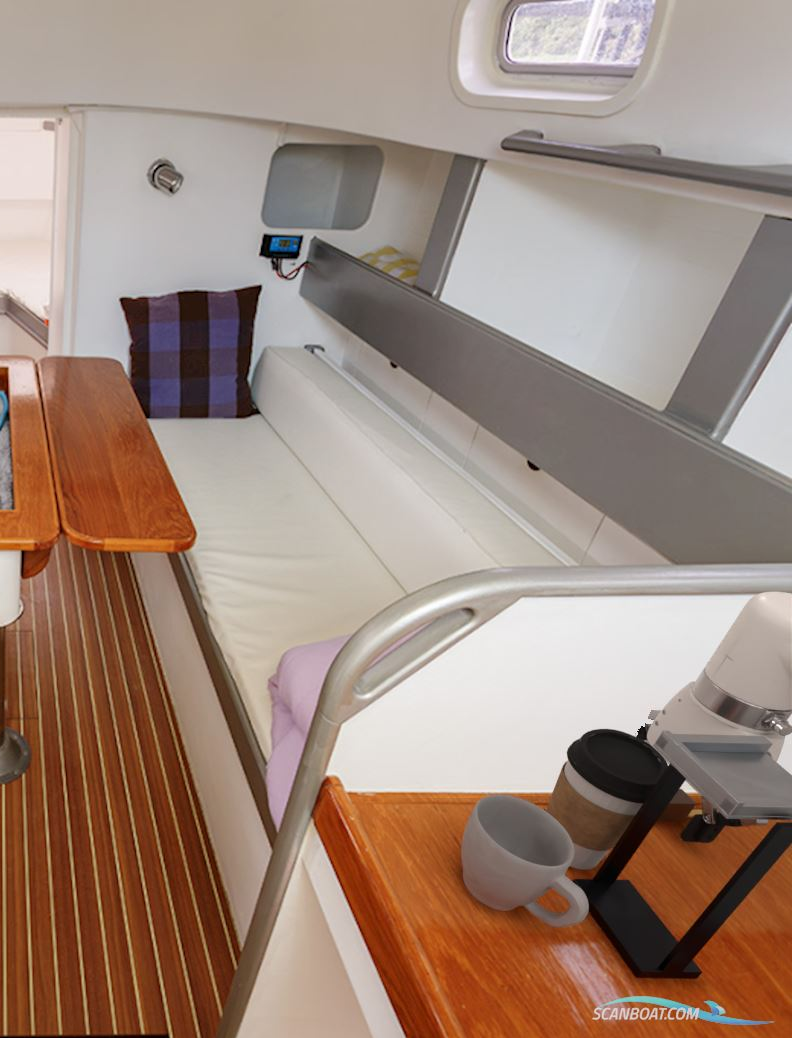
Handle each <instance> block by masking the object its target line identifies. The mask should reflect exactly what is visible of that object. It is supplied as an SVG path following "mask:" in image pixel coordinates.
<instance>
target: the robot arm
mask: <svg viewBox="0 0 792 1038" xmlns="http://www.w3.org/2000/svg"><path fill="white" fill-rule="evenodd" d="M791 716H792V593H790V592H784V591H763V592H760V593H758V594H755V595H754V596H752V597H751V598H750V599H749V600H748V601H747V602H746V604H745V605H744V606H743V608H742V609H741V610H740V613H739V614H738V616H737V617H736V619H735V620H734V622H733V623H732V625H731V626H730V628H729V629H728V631H727V633H726V634H725V635H724V637H723V638H722V640H721V642H720V643H719V645H718V646H717V647H716V649H715V651H714V652H713V653H712V655H711V657H710V658H709V660H708V662H707V663H706V664H705V666H704V668H703V669H702V671H701V672H700V674H699V675H698V677H697V678H696V680H695V681H690V682H689V683H687V684H686V685H685V686H684V687H683V688H681V689H680V690H679V691H678V692H677V693H675V695H673V696H672V697H671V699H670V700H669V701H668V702H667V703H666V704H665V705H664V707H663V708H661V709H659V710H651V712H650V714H649V716H648V719H651V720H654V721H653V723H652V724H646V723H645V727H643V726H641V728H640V729H638V730H639V731H637V732H638V735H637V736H636V735H635V737H637V738H639V739H641V740H643V741H645V742H647V743H649V744H650V745H651V746H652V747H654V746H653V745H654V743H655V742H656V740H657V739H658V737H659V736H660V734H661V733H662V731H663V730H664V731H670V732H671V733H672V734H701V735H746V736H764V737H765V738H767V739H768V740H769V741H770V742H771V743H772V746H771V747H770V748H769V750H768V751H767V752H766V754H767V755H769V756H770V757H771V758H772V759H773V760H774V761H776V762H777V763H778V760H779V759H780V755H781V753H782V750H783V747H784V744H785V740H786V736H788V735H791V734H792V725H791V724H790V723H789V721H788V720H789V718H790V717H791ZM654 748H655V747H654ZM655 749H656V748H655ZM656 750H657V749H656ZM657 751H658V750H657ZM658 752H659V751H658ZM659 753H660V752H659ZM660 754H661V753H660ZM661 755H662V754H661ZM662 756H663V755H662ZM663 758H664V759H665V760H666V762H667V764H668V765H669V764H670V762H669V761H668V760H667V759H666V758H665V757H664V756H663ZM685 782H686V783H687V784H688V785H689V786H690V787H691V788H692V789H693V790H694V791H695V792H697V794H698V795H700V799H701V810H702V814H696V815H694V816H693V818H690V820H689V822H688V823H687V824H686V826H685V827H684V829H683V830H682V831H681V832H680V833H679V838H680V839H681V840H682V842H684V843H701V844H710V843H713V842H714V841H715V840H716V839H717V837H718V836H719V835H720V833H721V832H722V831H723V829H724V828H725V827H731V828H750V827H759V826H760V827H761V826H762V827H763V826H767V825H768V824H769V820H765V819H726V818H725V817H724V816H723V815H722V814H721V813H720V812H719V811H718V810H717V809H716V808H715V807H714V806H713V805H712V804H711V803H710V802H709V801H708V800H707V799H706V798H705V797H704V796H703V795H702V794H701V793H700V792H699V791H698V790H697V789H696V788H695V787H694V786H693V785H692V784H691V783H690V782H689V781H688V780H687V779H686V780H685Z"/></svg>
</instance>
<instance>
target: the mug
mask: <svg viewBox="0 0 792 1038" xmlns="http://www.w3.org/2000/svg"><path fill="white" fill-rule="evenodd" d="M460 854H461V855H460V858H461V859H460V860H461V867H462V880H463V883H464V885H465V887H466V889H467V890H468V892H469V893H470V894H471V895H472V896H473V898H474V899H476V900H477V901H478V902H480V903H481V904H483V905H485V906H486V907H489V908H491V909H493V910H497V911H504V912H508V911H513V910H514V909H516V908H518V907H524V908H525V909H526V910H527V911H528V912H529V913H530V914H531V915H533V916H534V917H535V918H537V919H538V920H539V921H541V922H543V923H544V924H546V925H548V926H550V927H554V928H567V927H572V926H573V927H574V926H577V925H579V924H581V923H582V922H583V921H584V920H585V919H586V917H587V916H588V913H589V904H588V899H587V897H586V895H585V893H584V892H583V890H582V889H581V888H580V887H578V886H577V885H576V884H575V883H573V882H572V881H573V880H571V879H570V878H569V877H567V875H566V873H567V871H568V869H569V867H570V864H571V862H572V860H573V858H574V846H573V843H572V840H571V838H570V836H569V834H568V833H567V831H566V830H565V829H564V827H563V826H562V825H561V824H560V823H559V822H558V821H557V820H556V819H555V818H554V817H553V816H551V815H550V814H549V813H547V812H546V810H545V809H543V808H541V807H540V806H538V805H536V804H535V803H533V802H530V801H528V800H525V799H523V798H520V797H517V796H515V795H510V794H502V793H501V794H500V793H499V794H497V793H496V794H489V795H486V796H483V797H481V798H480V799H479V800H478V801H477V802H476V804H475V805H474V807H473V809H472V811H471V812H470V815H469V817H468V820H467V822H466V825H465V829H464V831H463V835H462V839H461V849H460ZM551 889H553V890H554V892H556V893H558V894H559V895H560V896H561V897H563V899H565V900H566V901H567V902H568V904H569V907H568V909H566V911H564V912H562V913H558V912H553V911H550V910H548V909H546V908H545V907H543V906H542V905H540V904H539V903H538V902H537V900H538V899H539V898H541V897H542V896H544V895H545V894H547V892H549V891H550V890H551Z"/></svg>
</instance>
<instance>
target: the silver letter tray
mask: <svg viewBox="0 0 792 1038" xmlns="http://www.w3.org/2000/svg"><path fill="white" fill-rule="evenodd" d="M653 746H654V747H655V748H656V749H657V750H658V751H659V752H660V753H661V754H662V755H663V756H664V757H665V758H666V759H667V760H668V761H669V762H670V763H671V764H672V765H673V766H674V767H675V768H676V769H677V770H678V771H679V772H680V773H681V774H682V775H683V776H684V777H685V778H686V779H687V780H688V781H689V782H690V783H691V784H692V785H693V786H694V787H695V788H696V789H697V790H698V791H699V792H700V793H701V794H702V795H703V796H704V797H705V798H706V799H707V800H708V801H709V802H710V803H711V804H712V805H713V806H714V807H715V808H716V809H717V812H720V813H721V814H722V815H723V816H724V817H725V818H726V819H765V820H768V821H769V820H770V821H771V820H773V821H792V774H791V773H790V772H789V771H788V770H786V769H785V768H784V767H783V766H782V765H780V764H779V763H778V761H777V762H776V761H774V760H773V759H772V758H771V757H770V756H769V755H767V754H766V752H767V751H768V750H769V748H770V747H771V746H772V743H771V742H770V741H769V740H768V739H767V738H765V737H764V736H746V735H701V734H672V733H671V732H670V731H664V730H663V731H662V733H661V734H660V736H659V737H658V739H657V740H656V742H655V743H654V745H653Z"/></svg>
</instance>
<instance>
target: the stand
mask: <svg viewBox="0 0 792 1038" xmlns="http://www.w3.org/2000/svg"><path fill="white" fill-rule="evenodd" d="M685 780H686V778H685V777H684V776H683V775H682V774H681V773H680V772H679V771H678V770H677V769H676V768H675V767H674V766H673V765H672V764H671V763H670V764H668V767H667V769H666V770H665V772H664V773H663V775H662V776H661V778H660V779H659V781H658V782H657V784H656V785H655V787H654V788H653V790H652V791H651V793H650V794H649V796H648V797H647V799H646V800H645V802H644V803H643V805H642V806H641V808H640V809H639V810H638V812H637V813H636V815H635V816H634V818H633V819H632V821H631V822H630V824H629V825H628V827H627V828H626V830H625V831H624V833H623V834H622V836H621V837H620V839H619V840H618V842H617V843H616V845H615V846H614V847H613V848H611V850H610V851H609V854H608V855H607V857H606V858H605V859H604V861H603V863H602V864H601V866H600V867H599V868H598V870H597V872H596V873H595V874H594V876H593V878H573V880H571V881H572V882H573V883H575V884H576V885H577V886H578V887H580V888H581V889H582V890H583V892H584V893H585V895H586V897H587V899H588V904H589V911H588V913H589V914H590V916H591V917H592V918H593V920H594V921H595V923H596V924H597V925H598V927H599V928H600V930H601V931H602V932H603V934H604V935H605V936H606V938H607V939H608V941H609V942H610V943H611V945H612V947H614V949H615V951H616V952H617V954H618V955H619V956H620V957H621V959H622V960H623V961H624V963H625V965H627V967H628V969H629V970H630V971H631V973H632V974H633V975H634V977H635V978H636V979H675V980H676V979H681V980H682V979H683V980H684V979H687V980H697V979H698V978H699V977H700V976H701V975H702V973H703V971H702V970H701V968H700V967H699V966H698V964H697V963H696V962H695V960H694V959H695V958H696V957H697V955H698V954H699V953H700V952H701V951H702V949H703V948H704V947H705V946H706V945H707V943H708V942H709V941H710V940H711V939H712V938H713V936H715V934H716V933H717V932H718V930H720V928H721V927H722V926H723V925H724V924H725V922H726V921H727V920H728V919H729V918H730V917H731V916H732V914H733V913H734V912H735V911H736V910H737V908H738V907H739V906H740V905H741V904H742V903H743V901H744V900H745V899H746V898H747V896H748V895H749V894H750V893H751V892H752V891H753V890H754V888H756V886H757V885H758V884H759V883H760V881H761V880H762V879H763V878H764V877H765V876H766V875H767V873H768V872H769V871H770V870H771V869H772V867H773V866H774V865H775V864H776V863H777V862H778V860H779V859H780V858H781V857H782V856H783V854H784V853H785V852H786V851H787V850H788V849H789V847H790V846H791V845H792V822H784V821H777V822H775V823H774V825H773V826H772V827H771V828H770V830H769V831H768V832H767V833H766V834H765V836H764V837H763V838H762V839H761V840H760V842H759V843H758V844H757V846H756V847H755V848H754V849H753V850H752V852H751V853H750V854H749V855H748V857H746V859H745V860H744V861H743V863H741V865H740V866H739V867H738V869H737V870H736V871H735V872H734V874H733V875H732V876H731V877H730V879H729V880H728V881H727V882H726V883H725V885H724V886H723V887H722V888H721V889H720V891H718V893H717V894H716V895H715V897H714V898H713V899H712V900H711V901H710V903H709V904H708V906H706V908H705V909H704V910H703V912H702V913H701V914H700V915H699V916H698V917H697V919H695V921H694V923H693V924H692V925H691V926H690V927H689V928H688V929H687V931H686V932H685V933H684V935H683V936H682V937H681V938H680V939H679V941H678V939H677V938H676V937H675V935H674V934H673V933H672V932H671V930H669V928H668V927H667V925H666V924H665V923H664V922H663V921H662V920H661V918H660V916H658V914H657V913H656V912H655V911H654V909H653V908H652V907H651V905H650V904H649V903H648V902H647V900H646V899H645V898H644V897H643V895H641V893H640V892H639V891H638V890H637V888H636V886H635V885H633V883H632V882H631V881H630V879H618V878H619V876H620V875H621V874H622V872H623V871H624V869H625V868H626V866H627V865H628V863H629V862H630V861H631V859H632V858H633V856H634V855H635V853H636V852H637V851H638V850H639V848H640V846H641V845H642V843H643V842H644V840H645V839H646V838H647V836H648V835H649V833H650V832H651V830H652V829H653V828H654V826H655V825H656V823H657V822H658V821H657V820H658V819H659V817H660V816H661V815H662V813H663V812H664V810H665V809H666V807H667V806H668V805H669V803H670V802H671V800H672V799H673V797H674V796H675V794H676V793H677V792H678V790H679V789H681V787H682V786H683V785H684V783H685V782H686V781H685Z"/></svg>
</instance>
